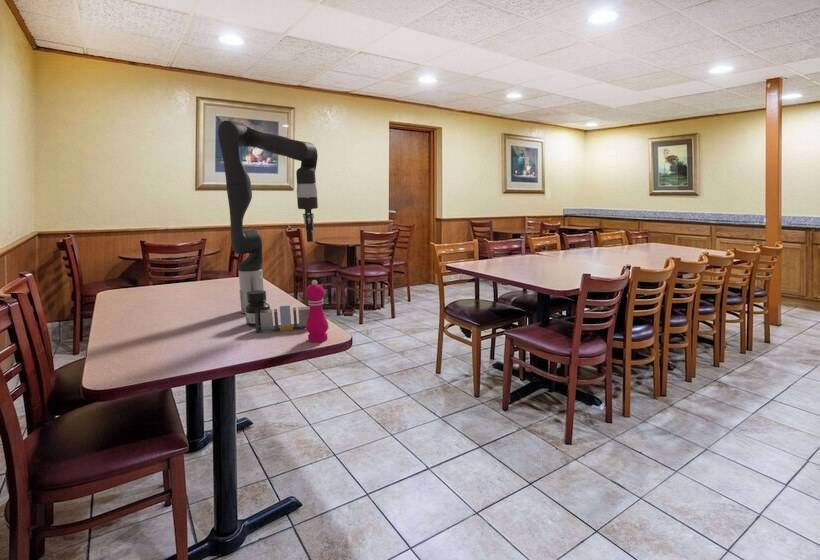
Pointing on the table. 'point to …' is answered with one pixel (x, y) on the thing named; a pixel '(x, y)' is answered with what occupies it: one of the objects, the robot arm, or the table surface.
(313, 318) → the pepper mill
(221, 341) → the table surface
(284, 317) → the light grey block
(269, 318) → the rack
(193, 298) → the table surface
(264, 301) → the ink bottle
